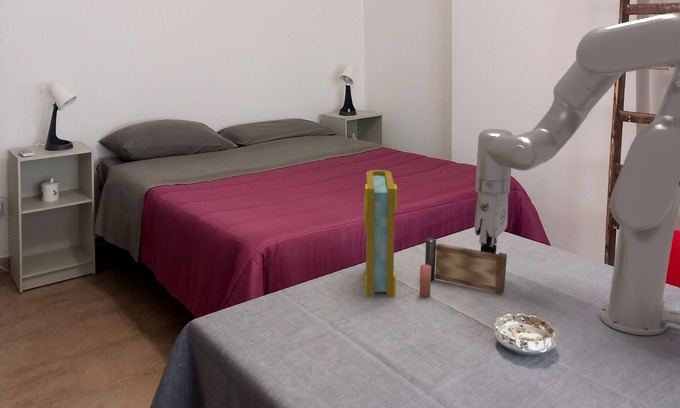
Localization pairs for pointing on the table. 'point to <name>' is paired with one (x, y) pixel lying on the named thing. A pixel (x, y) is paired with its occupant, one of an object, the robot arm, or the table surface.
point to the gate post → (431, 255)
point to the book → (380, 232)
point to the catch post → (425, 281)
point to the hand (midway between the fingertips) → (487, 260)
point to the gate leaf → (471, 267)
